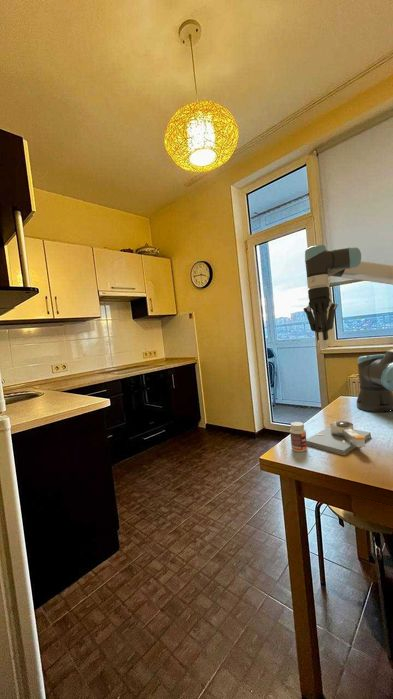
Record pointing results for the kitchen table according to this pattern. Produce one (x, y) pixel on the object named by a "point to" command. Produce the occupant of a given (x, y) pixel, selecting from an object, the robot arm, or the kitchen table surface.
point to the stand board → (334, 441)
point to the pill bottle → (298, 437)
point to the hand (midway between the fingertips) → (323, 348)
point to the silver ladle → (347, 432)
